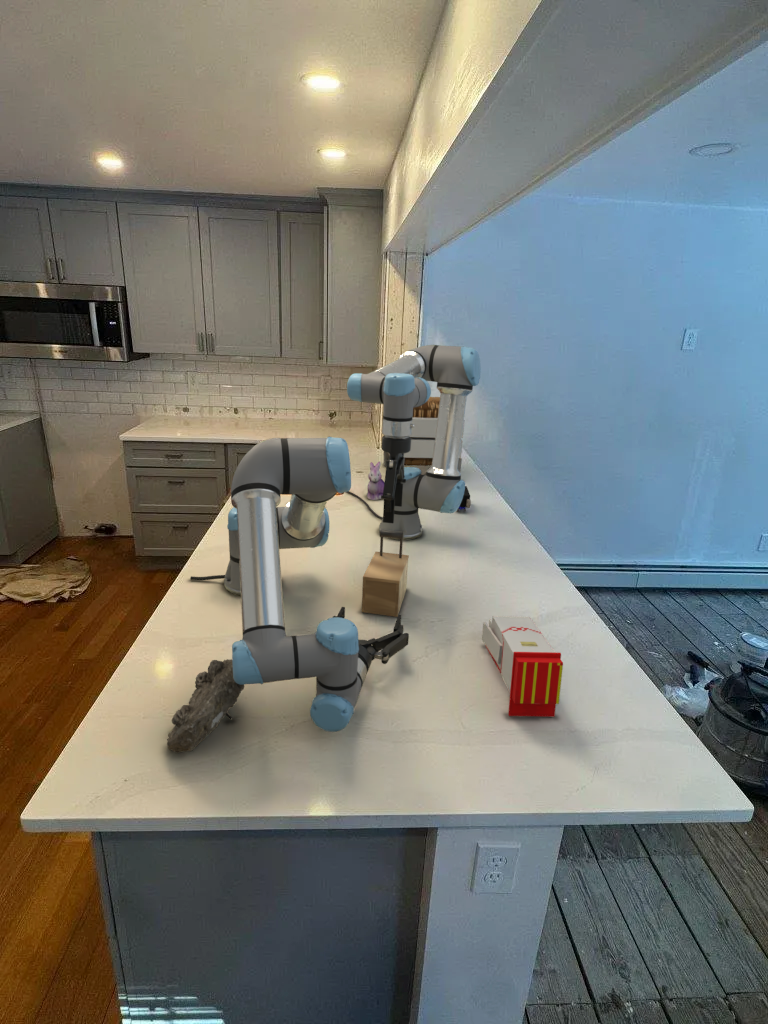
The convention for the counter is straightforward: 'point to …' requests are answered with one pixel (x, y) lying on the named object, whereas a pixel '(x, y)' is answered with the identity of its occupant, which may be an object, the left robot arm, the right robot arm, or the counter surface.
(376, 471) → the figurine
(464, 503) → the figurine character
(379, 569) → the lid
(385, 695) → the counter surface
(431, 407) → the grey boxy piece
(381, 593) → the chest
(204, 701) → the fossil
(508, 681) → the toy
